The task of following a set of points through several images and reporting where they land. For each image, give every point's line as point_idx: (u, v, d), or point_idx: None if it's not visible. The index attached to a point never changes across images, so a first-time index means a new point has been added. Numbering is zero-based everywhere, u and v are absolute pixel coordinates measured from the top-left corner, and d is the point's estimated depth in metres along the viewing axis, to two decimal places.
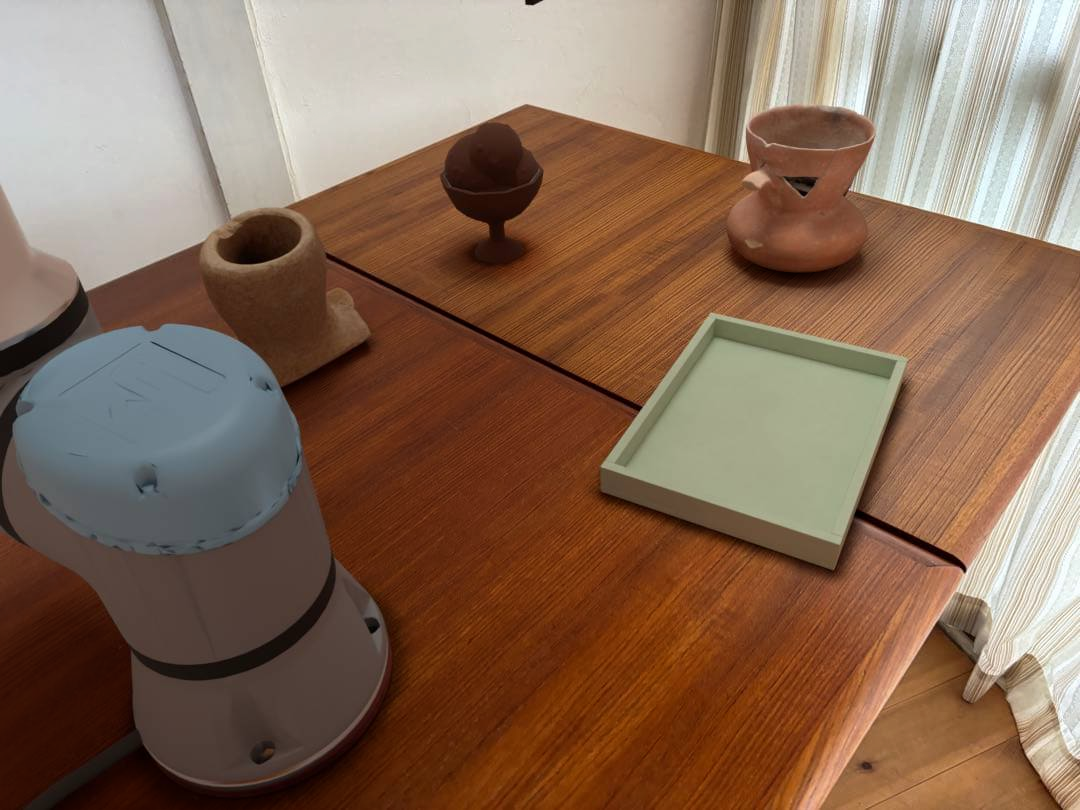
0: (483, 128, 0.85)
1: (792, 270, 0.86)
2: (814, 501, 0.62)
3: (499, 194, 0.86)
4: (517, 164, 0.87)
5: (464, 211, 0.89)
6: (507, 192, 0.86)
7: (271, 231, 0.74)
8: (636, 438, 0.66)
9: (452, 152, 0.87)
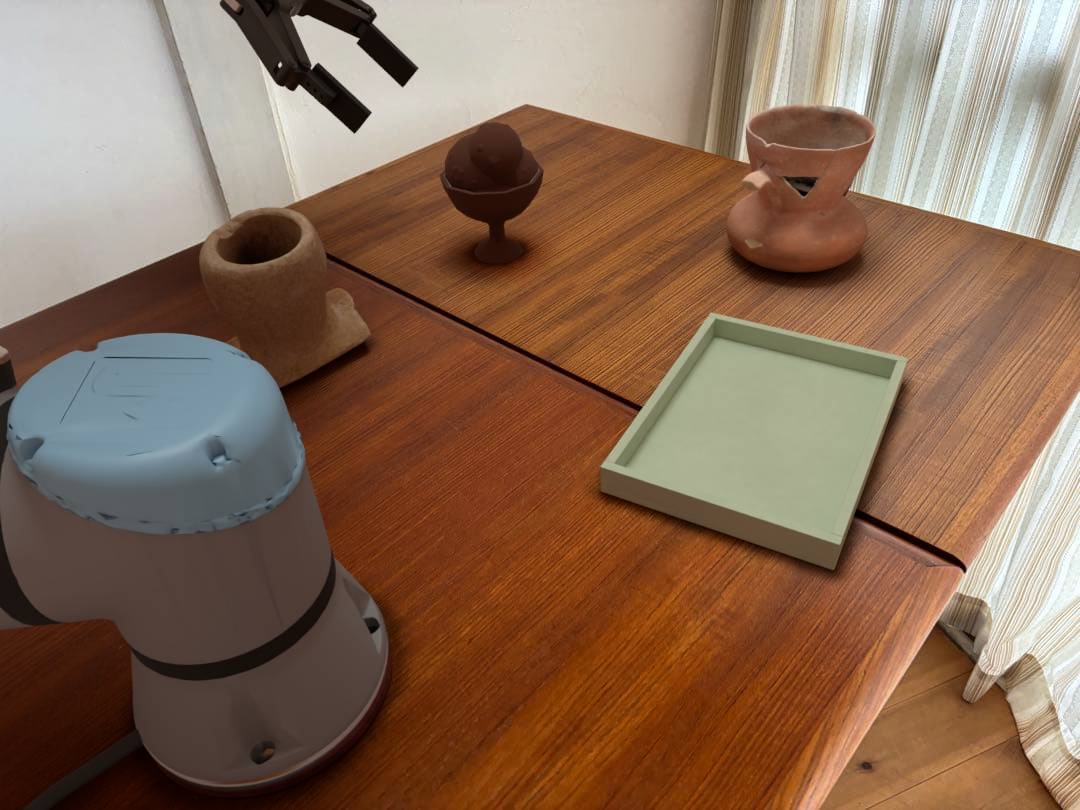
0: (483, 128, 0.85)
1: (792, 270, 0.86)
2: (814, 501, 0.62)
3: (499, 194, 0.86)
4: (517, 164, 0.87)
5: (464, 211, 0.89)
6: (507, 192, 0.86)
7: (271, 231, 0.74)
8: (636, 438, 0.66)
9: (452, 152, 0.87)
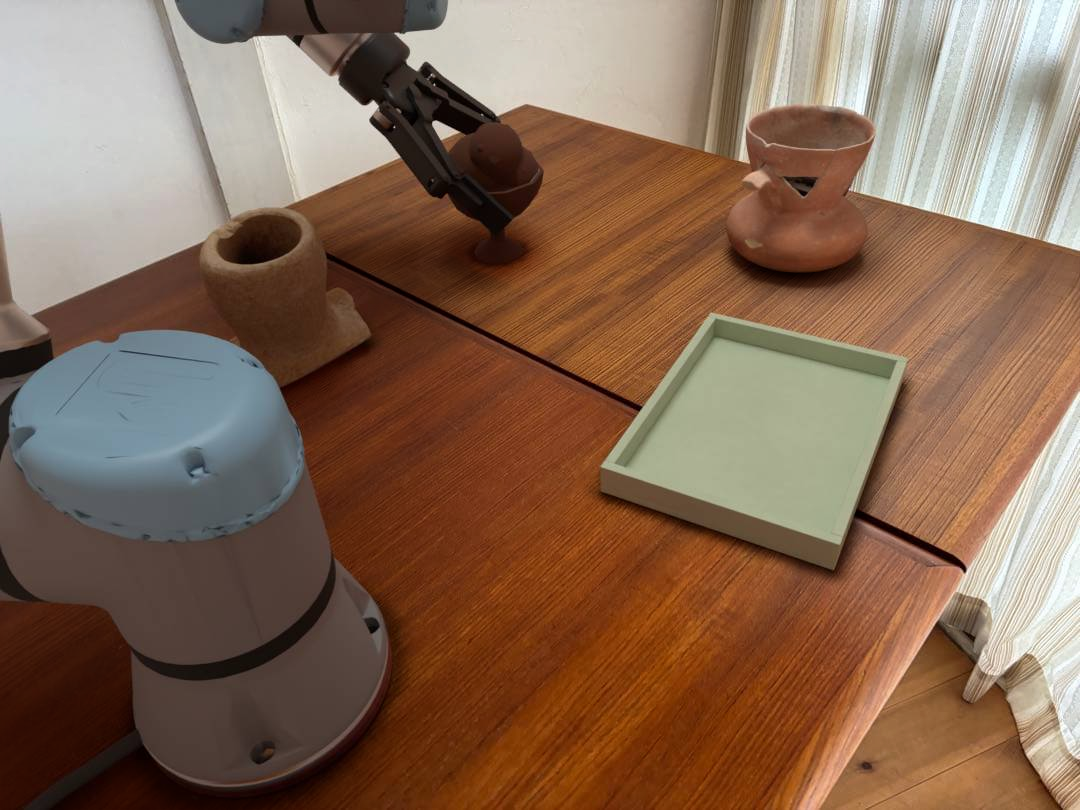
0: (483, 128, 0.85)
1: (792, 270, 0.86)
2: (814, 501, 0.62)
3: (499, 194, 0.86)
4: (517, 164, 0.87)
5: (464, 211, 0.89)
6: (507, 192, 0.86)
7: (271, 231, 0.74)
8: (636, 438, 0.66)
9: (452, 152, 0.87)
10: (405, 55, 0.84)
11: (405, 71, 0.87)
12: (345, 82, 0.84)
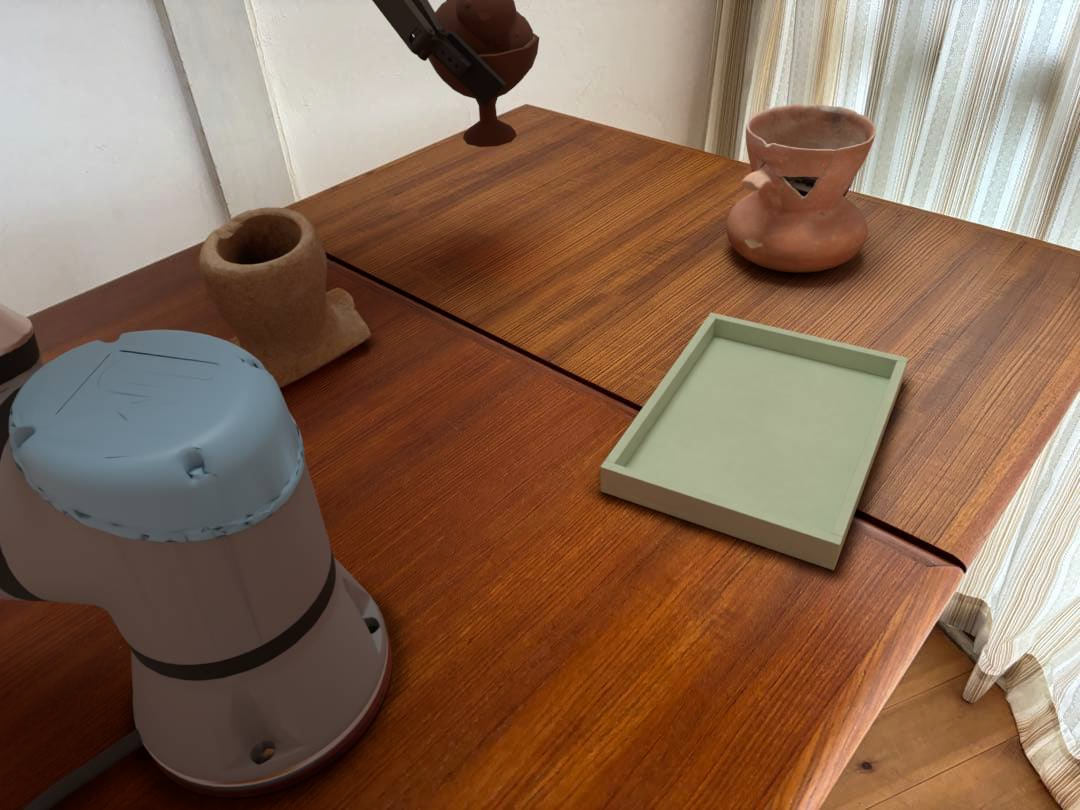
0: None
1: (792, 270, 0.86)
2: (814, 501, 0.62)
3: (489, 57, 0.77)
4: (510, 26, 0.78)
5: (451, 81, 0.80)
6: (498, 55, 0.77)
7: (271, 231, 0.74)
8: (636, 438, 0.66)
9: (437, 13, 0.79)
10: None
11: None
12: None
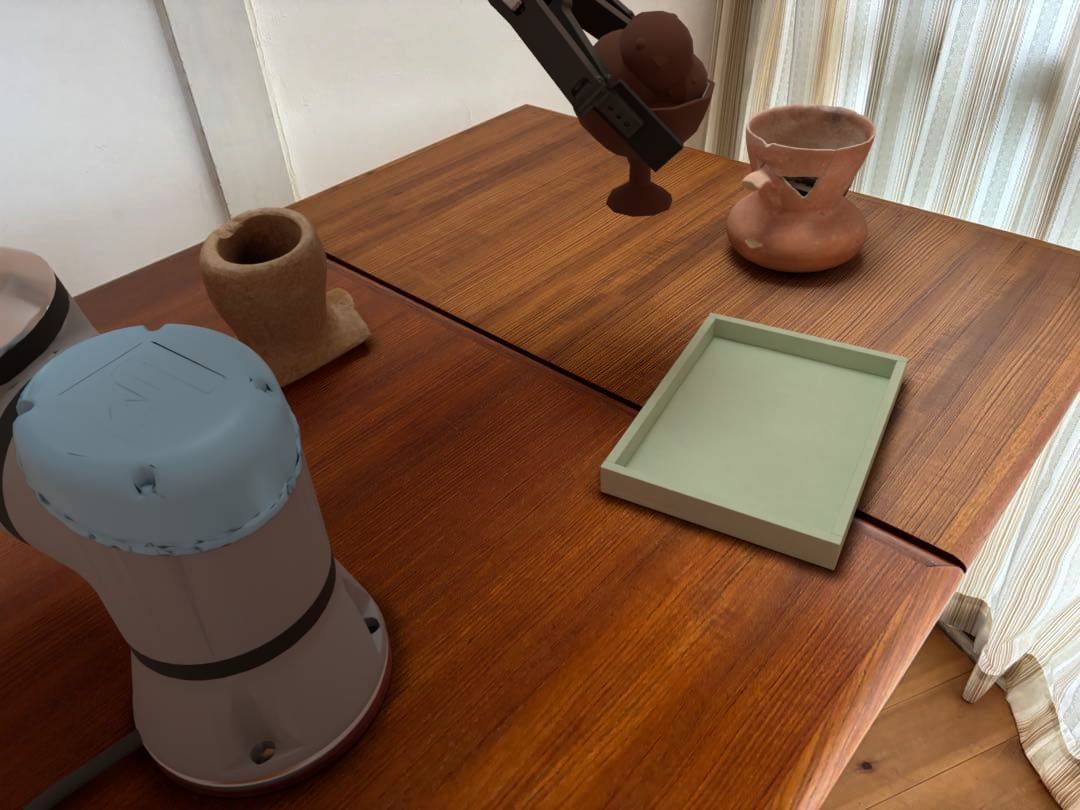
0: (643, 17, 0.60)
1: (792, 270, 0.86)
2: (814, 501, 0.62)
3: (664, 111, 0.61)
4: (686, 71, 0.62)
5: (607, 139, 0.64)
6: (676, 108, 0.60)
7: (271, 231, 0.74)
8: (636, 438, 0.66)
9: None
10: None
11: None
12: None
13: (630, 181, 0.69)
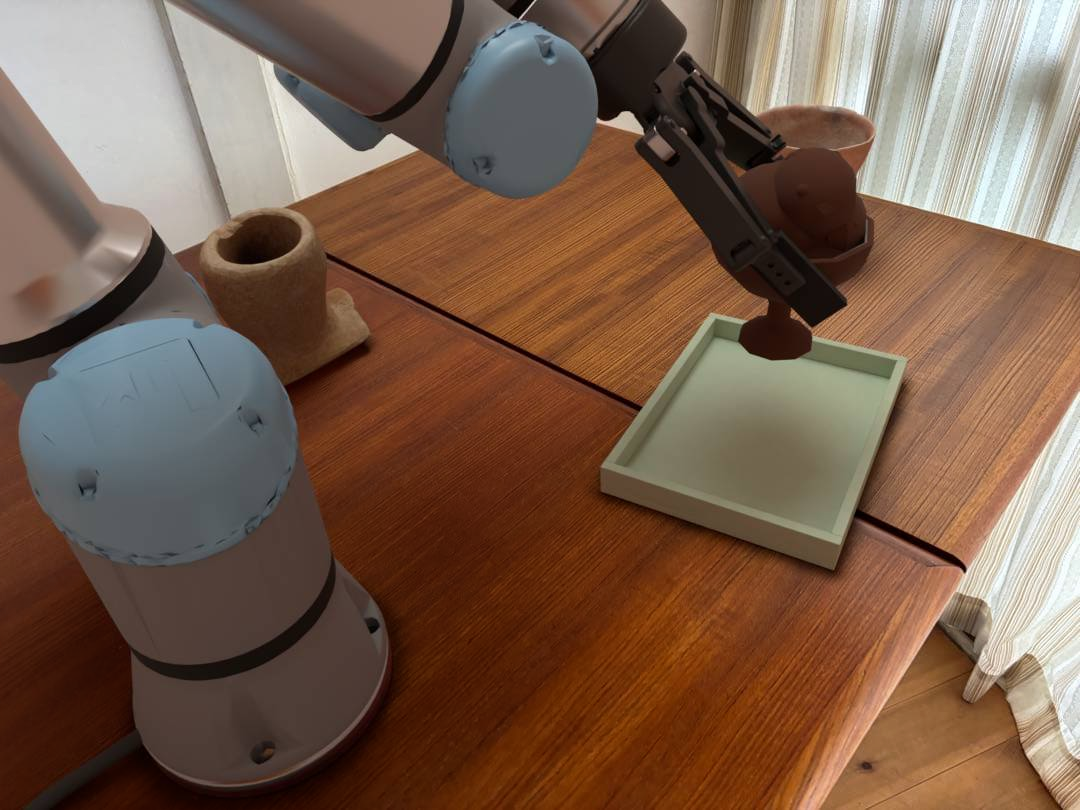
0: (804, 157, 0.53)
1: None
2: (814, 501, 0.62)
3: (826, 263, 0.53)
4: None
5: (753, 286, 0.57)
6: (840, 260, 0.53)
7: (271, 231, 0.74)
8: (636, 438, 0.66)
9: None
10: (685, 39, 0.51)
11: (668, 66, 0.54)
12: None
13: (768, 319, 0.62)
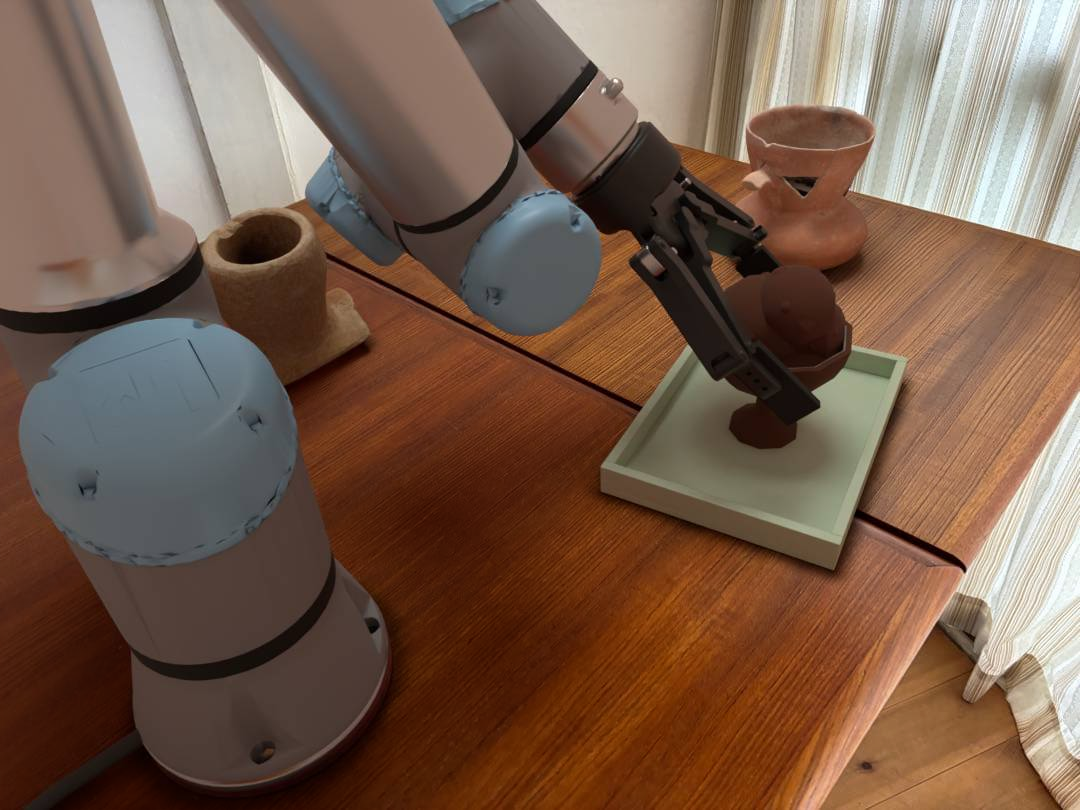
0: (787, 277, 0.58)
1: None
2: (814, 501, 0.62)
3: (808, 372, 0.59)
4: None
5: (742, 387, 0.62)
6: (820, 369, 0.59)
7: (271, 231, 0.74)
8: (636, 438, 0.66)
9: (732, 306, 0.60)
10: (679, 166, 0.56)
11: None
12: (590, 206, 0.56)
13: (756, 410, 0.67)
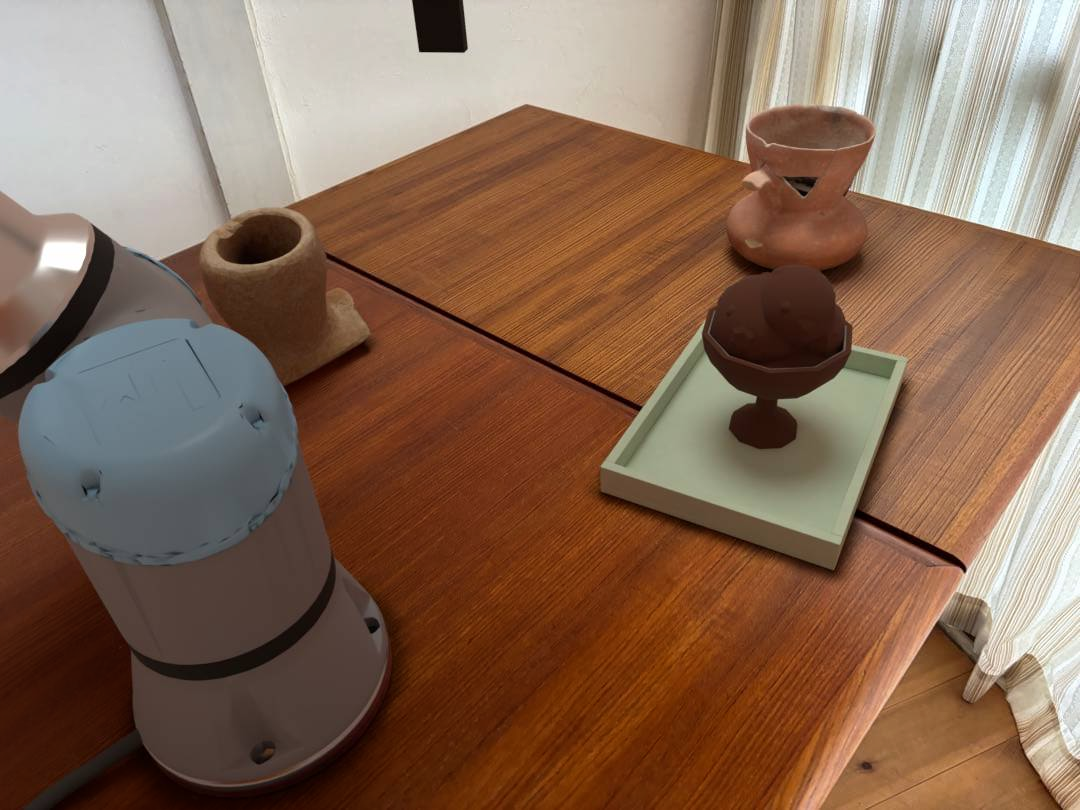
0: (787, 277, 0.58)
1: None
2: (814, 501, 0.62)
3: (808, 372, 0.59)
4: None
5: (742, 387, 0.62)
6: (820, 369, 0.59)
7: (271, 231, 0.74)
8: (636, 438, 0.66)
9: (732, 306, 0.60)
10: None
11: None
12: None
13: (756, 410, 0.67)
